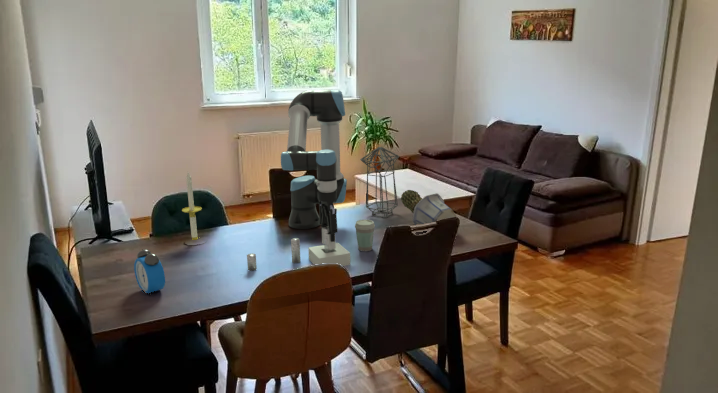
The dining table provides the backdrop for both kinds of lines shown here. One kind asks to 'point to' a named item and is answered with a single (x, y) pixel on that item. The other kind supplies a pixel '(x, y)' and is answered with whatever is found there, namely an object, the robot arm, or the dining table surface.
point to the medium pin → (295, 250)
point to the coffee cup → (365, 234)
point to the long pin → (326, 241)
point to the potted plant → (426, 207)
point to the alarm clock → (149, 271)
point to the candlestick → (191, 208)
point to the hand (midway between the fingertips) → (328, 245)
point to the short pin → (251, 262)
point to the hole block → (329, 255)
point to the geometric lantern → (380, 179)
